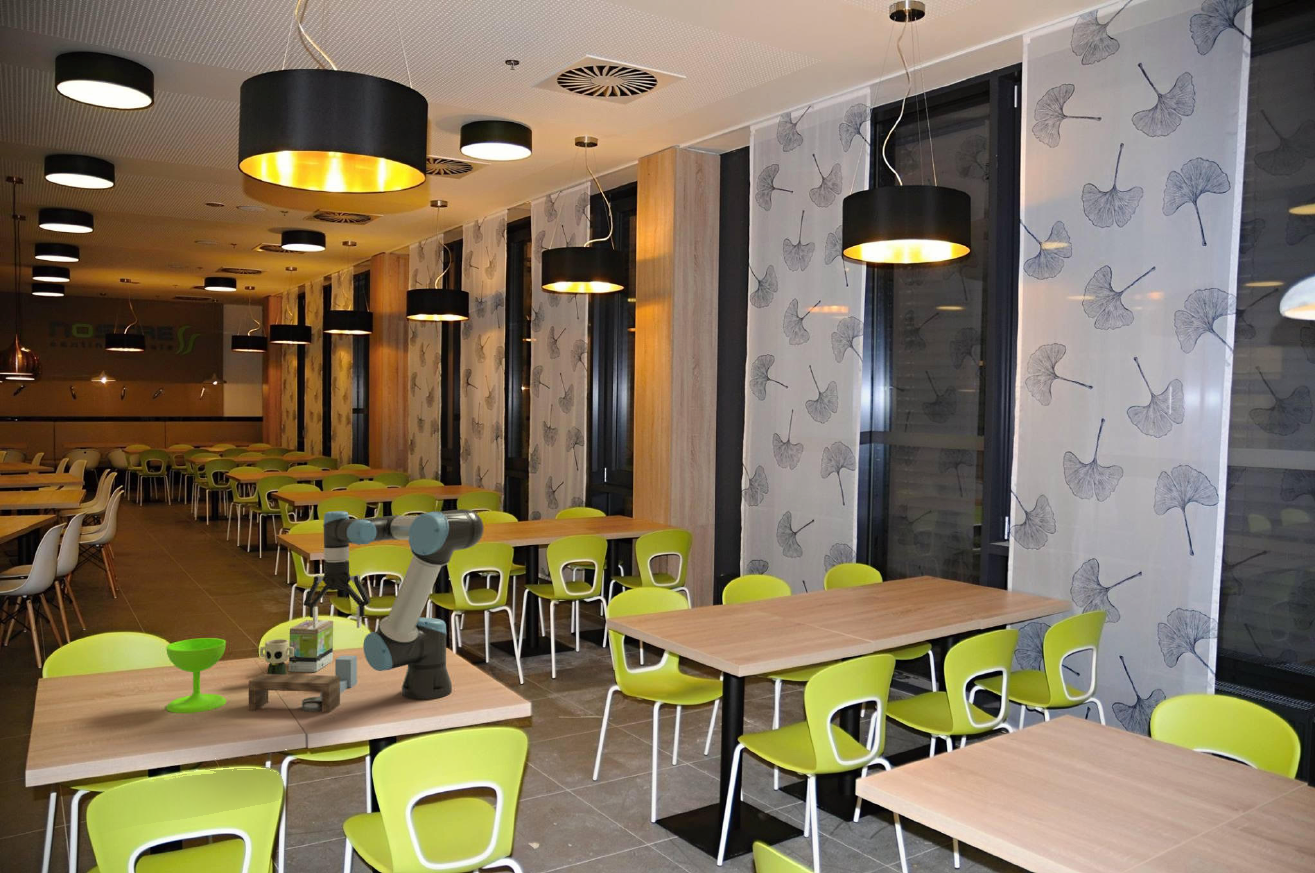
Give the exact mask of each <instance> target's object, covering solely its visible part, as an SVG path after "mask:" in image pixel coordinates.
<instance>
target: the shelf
mask: <svg viewBox="0 0 1315 873" xmlns="http://www.w3.org/2000/svg"><path fill="white" fill-rule="evenodd" d="M269 691H274V692H275V691H278V692H281V691H283V692H310V693H311V692H316V693H319V692H322V710H321V713H330V712H332V711H334V709H336V708H337V707H338V706H339V705H341V693H340V676H335V675H324V674H323V675H316V674H310V675H309V674H287V675H283V674H267V673H261V674H259V675H258V676H256V677H254V678H251V679H250V680H248V711H255V712H256V711H257V710H258V709H261V708H262V707H263V706H265V705H266V704H268V703H269Z"/></svg>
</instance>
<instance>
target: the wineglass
mask: <svg viewBox="0 0 1315 873" xmlns="http://www.w3.org/2000/svg"><path fill="white" fill-rule="evenodd" d="M226 644H227V641H226V640H225V639H222V638H216V637H215V638H214V637H205V638H203V637H201V638H191V639H184V640H179V641H176V642H172V643H169V644H167V646H166V647H165V649H166V654H167V657H168V659H169V660H170V662H171V663H172V664H173V665H174V666H175V667H176V668H178V669H179V670H182V671H183V672H184V671H185V672H189V673H192V689H193V690H192V693H191V695H186V696H182V697H178V698H176V699H174V700H172V701H171V702H169V703H168V704H167V706H166V710H167V711H169V712H170V713H176V714H193V713H194V714H195V713H201V712H206V711H210V710H214V709H218V708H220V707H223V706H224V705H225V704H226V703H227V699H226V698H225V697H223V696H222V695H220V694H213V693H205V694H203V693H202V692H201V672H203V671H205V670H208V669H211V668H212V667H213V666H214V665H216V664H218V662H219V661H220V660H221V658H222V657H223V655H224V653H225V650H226Z"/></svg>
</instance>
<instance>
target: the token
mask: <svg viewBox="0 0 1315 873" xmlns="http://www.w3.org/2000/svg"><path fill="white" fill-rule="evenodd" d="M301 711H303V712H309V713H310V712H311V713H312V712H313V713H314V712H322V697H320V696H310V697H306V698H304V699H302V700H301Z"/></svg>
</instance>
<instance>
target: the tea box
mask: <svg viewBox="0 0 1315 873" xmlns="http://www.w3.org/2000/svg"><path fill="white" fill-rule="evenodd" d="M288 641H289V647H293V648H294V656H293V657H289V658H288V672H290V673H291V672H292V673H293V672H294V673H317V672H318V671H319V670H321V669H322V668H324V667H325V666H327V665H329V664H330V663H332V662H333V661H334V660H333V657H334V656H333V654H334V653H333V652H334V621H333V620H319V619H318V627H317V628H316V629H313V619H311V620H309V619H307V620H305V621H302V622H300V623H299V624H296V625H294V626H293V627H290V628H289V640H288ZM289 654H291V650H289Z"/></svg>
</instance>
